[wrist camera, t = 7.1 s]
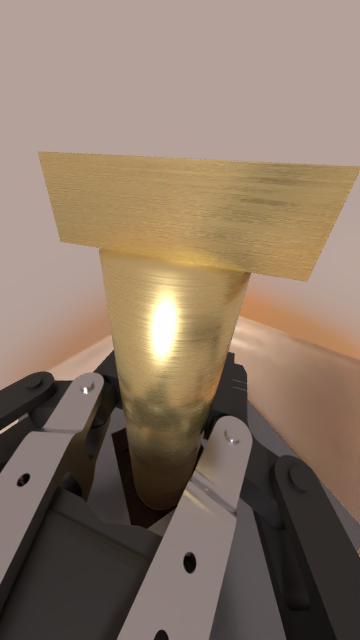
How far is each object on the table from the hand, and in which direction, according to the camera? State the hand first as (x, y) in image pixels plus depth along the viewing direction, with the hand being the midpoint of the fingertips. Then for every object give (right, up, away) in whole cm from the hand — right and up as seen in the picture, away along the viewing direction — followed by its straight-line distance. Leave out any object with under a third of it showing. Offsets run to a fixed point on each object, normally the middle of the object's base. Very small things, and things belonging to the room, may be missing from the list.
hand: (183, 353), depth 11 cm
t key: (-1, -9, +3) cm, 9 cm away
